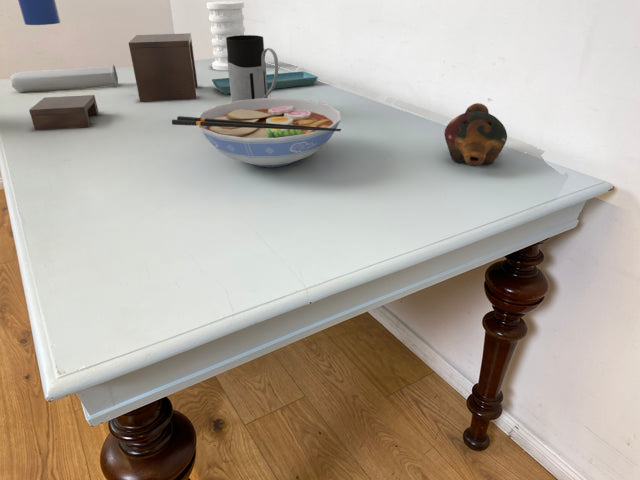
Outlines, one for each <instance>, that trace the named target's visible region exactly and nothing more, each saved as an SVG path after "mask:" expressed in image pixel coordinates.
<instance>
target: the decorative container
mask: <svg viewBox="0 0 640 480" xmlns="http://www.w3.org/2000/svg"><path fill="white" fill-rule="evenodd" d="M205 5H206V9H207V10H209V16H208V20H209V22H210V33H211V44H212V46H213V50H212V54H213V56H214V61H213V62H212V63H211V65H212V69H213V70H216V71H222V72H223V71H225V72H226V71H227V72H229V71H228V61H227V56H228V53H227V42H226V38H227V37H231V36H239V35H245V30H246V28H245V25H244V19H245V16H244V14H243V8H245V2H244V1H239V0H222V1H221V0H220V1H219V0H218V1H209V2H205Z"/></svg>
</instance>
